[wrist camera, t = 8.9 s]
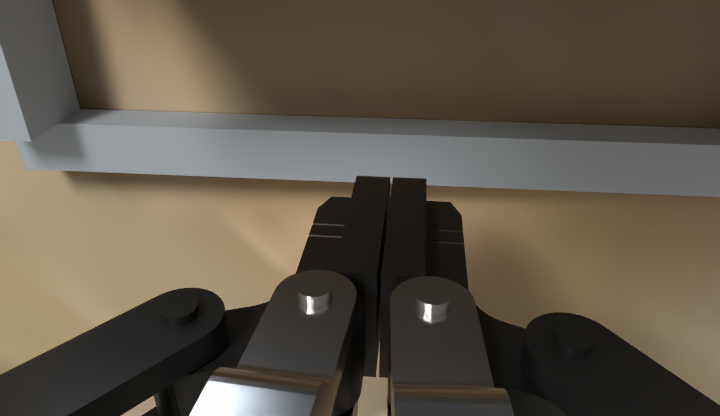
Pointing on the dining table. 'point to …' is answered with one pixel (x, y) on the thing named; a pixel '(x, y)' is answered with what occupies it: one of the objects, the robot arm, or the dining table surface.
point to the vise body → (325, 137)
